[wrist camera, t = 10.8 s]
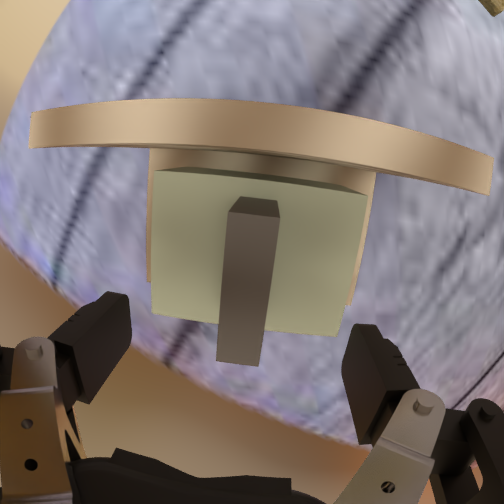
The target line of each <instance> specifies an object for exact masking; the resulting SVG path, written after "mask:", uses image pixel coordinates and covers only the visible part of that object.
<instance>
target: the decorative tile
mask: <svg viewBox="0 0 504 504" xmlns="http://www.w3.org/2000/svg"><path fill="white" fill-rule="evenodd" d="M479 1H480V2H481V4H482V5H483V6H484V7H485V8H486V9H487V11H488V12H489V13H490V14H491V15H492V16H493V17H494V16H496V15H498V14H499V13H501V12H502V11H503V10H504V0H479Z"/></svg>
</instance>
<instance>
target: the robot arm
mask: <svg viewBox="0 0 504 504" xmlns="http://www.w3.org/2000/svg"><path fill="white" fill-rule="evenodd" d="M131 338H132V328H131V318H130V306H129V298H128V296H127V295H125V294H120V293H115V292H109V291H107V292H106V293H104V294H103V295H102V296H101V297H100V298H99V299H98V300H97V301H95V302H92V303H89V304H87V305H85V306H83V307H81V308H80V309H79V310H78V311H77V312H76V313H75V314H74V315H72V316H71V317H70V318H69V319H68V321H65V322H64V323H63V324H62V325H61V326H60V327H59V328H58V329H56V331H54V332H53V333H52V334H51V335H50V336H49V337H48V338H44V337H31V338H28V339H25V340H23V341H21V342H20V343H19V344H18V345H17V346H16V347H15V348H8V347H1V346H0V474H1V485H2V487H0V504H326V503H324V502H322V501H320V500H319V499H317V498H315V497H312V496H310V495H308V494H305V493H302V492H299V491H295V490H291V478H274V477H259V476H248V475H244V476H232V477H215V478H197V477H194V476H192V475H189V474H187V473H184V472H182V471H180V470H178V469H175V468H173V467H171V466H169V465H167V464H165V463H163V462H160V461H159V460H156V459H153V458H150V457H146V456H142V455H139V454H135V453H132V452H128V451H125V450H122V449H119V448H116V449H115V451H114V453H113V455H112V457H111V458H109V457H94V458H87V456H86V454H85V450H84V447H83V443H82V439H81V435H80V431H79V426H78V422H77V417H76V412H75V409H74V406H73V405H74V403H75V402H76V400H78V401H81V402H84V403H86V404H90V403H91V401H92V400H93V398H94V397H95V395H96V394H97V392H98V391H99V389H100V388H101V386H102V385H103V384H104V382H105V381H106V379H107V378H108V376H109V375H110V373H111V372H112V371H113V369H114V368H115V366H116V365H117V363H118V362H119V360H120V359H121V358H122V356H123V355H124V353H125V352H126V351H127V349H128V348H129V346H130V343H131ZM402 357H403V356H402V354H401V352H400V351H399V349H398V347H397V346H396V345H394V344H393V343H392V342H391V341H390V340H388V339H384V338H383V337H382V335H381V333H380V331H379V329H378V327H377V326H376V325H373V324H354V326H353V328H352V330H351V334H350V337H349V341H348V344H347V347H346V351H345V354H344V357H343V361H342V369H341V373H342V379H343V382H344V386H345V390H346V394H347V397H348V401H349V405H350V409H351V413H352V417H353V421H354V425H355V429H356V434H357V438H358V442H359V445H363V444H372V447H373V449H372V450H371V452H370V453H369V455H368V457H367V458H366V460H365V461H364V463H363V464H362V466H361V467H360V468H359V470H358V471H357V473H356V474H355V476H354V477H353V478H352V480H351V481H350V483H349V484H348V485H347V487H346V488H345V489H344V491H343V492H342V493H341V495H340V496H339V497H338V499H337V500H336V501H335V502H334V503H333V504H418V502H419V499H420V497H421V495H422V493H423V490H424V488H425V486H426V483H427V481H428V479H430V482H431V486H432V489H433V493H434V497H435V501H436V504H504V413H503V411H502V410H501V408H500V407H499V406H498V405H497V404H496V403H494V402H492V401H490V400H488V399H483V398H478V399H475V400H473V401H471V403H470V404H469V406H468V407H467V409H466V410H465V411H461V410H453V409H446V408H445V404H444V402H443V401H442V400H441V398H440V397H439V396H437V395H436V394H434V393H433V392H430V391H428V390H424V389H420V387H419V385H418V383H417V381H416V379H415V377H414V376H413V374H412V372H411V370H410V368H409V367H408V366H407V363H406V361H405V359H404V358H402ZM475 459H476V461H477V464H478V466H479V469H480V471H481V474H482V476H483V484H482V487H481V489H480V491H479V488H478V485H477V483H476V480H475V477H474V475H473V472H472V469H471V467H470V465H471V464H472V463H473V462H474V460H475Z"/></svg>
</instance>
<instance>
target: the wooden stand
mask: <svg viewBox="0 0 504 504" xmlns="http://www.w3.org/2000/svg"><path fill="white" fill-rule="evenodd" d="M49 147H133V148H150V156H149V171H148V190H147V224H146V262H147V282H151V223H152V198H153V180H154V171H155V170H163V169H170V168H179V167H199V168H211V169H222V170H233V171H242V172H252V173H260V174H269V175H277V176H284V177H292V178H299V179H306V180H313V181H319V182H326V183H332V184H338V185H342V186H345V187H347V188H350V189H352V190H355V191H357V192H360V193H362V194H365V195H367V196H368V200H367V206H366V212H365V218H364V223H363V229H362V234H361V239H360V244H359V249H358V253H357V258H356V263H355V267H354V272H353V276H352V280H351V285H350V289H349V293H348V297H347V301H346V305H351V302H352V298H353V294H354V290H355V286H356V281H357V277H358V273H359V268H360V263H361V259H362V254H363V249H364V244H365V239H366V233H367V228H368V222H369V217H370V211H371V205H372V198H373V192H374V185H375V178H376V172H378V173H384V174H390V175H396V176H401V177H407V178H412V179H417V180H422V181H427V182H432V183H437V184H442V185H446V186H451V187H455V188H459V189H464V190H468V191H472V192H476V193H480V194H484V195H487V196H489V194H490V187H491V179H492V171H493V161H494V158H493V157H490V156H488V155H485V154H483V153H480V152H478V151H475V150H472V149H470V148H467V147H464V146H461V145H458V144H456V143H453V142H450V141H447V140H444V139H441V138H437V137H434V136H431V135H428V134H424V133H421V132H418V131H414V130H411V129H407V128H403V127H400V126H396V125H392V124H388V123H384V122H379V121H375V120H371V119H366V118H362V117H357V116H352V115H347V114H342V113H336V112H331V111H325V110H319V109H312V108H306V107H299V106H291V105H283V104H274V103H264V102H253V101H240V100H224V99H192V98H168V99H138V100H121V101H109V102H98V103H89V104H81V105H73V106H66V107H59V108H53V109H47V110H42V111H36V112H32V114H31V124H30V135H29V148H49Z"/></svg>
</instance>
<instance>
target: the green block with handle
mask: <svg viewBox="0 0 504 504" xmlns="http://www.w3.org/2000/svg"><path fill="white" fill-rule="evenodd" d="M367 200H368V196H367V195H365V194H362V193H360V192H357V191H355V190H352V189H350V188H347V187H345V186H342V185H338V184H332V183H326V182H319V181H313V180H306V179H299V178H292V177H284V176H277V175H269V174H260V173H252V172H242V171H233V170H222V169H211V168H199V167H179V168H170V169H163V170H155V171H154V180H153V198H152V223H151V300H152V313H153V314H159V315H164V316H170V317H176V318H182V319H188V320H194V321H200V322H207V323H214V324H218V339H217V354H216V361H219V362H226V363H234V364H241V365H249V366H259V360H260V354H261V347H262V341H263V335H264V330H268V331H277V332H287V333H297V334H308V335H319V336H332V337H337V335H338V331H339V327H340V324H341V320H342V316H343V313H344V309H345V305H346V301H347V297H348V293H349V289H350V285H351V280H352V276H353V272H354V267H355V263H356V258H357V253H358V249H359V244H360V239H361V234H362V229H363V223H364V218H365V212H366V206H367Z"/></svg>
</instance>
